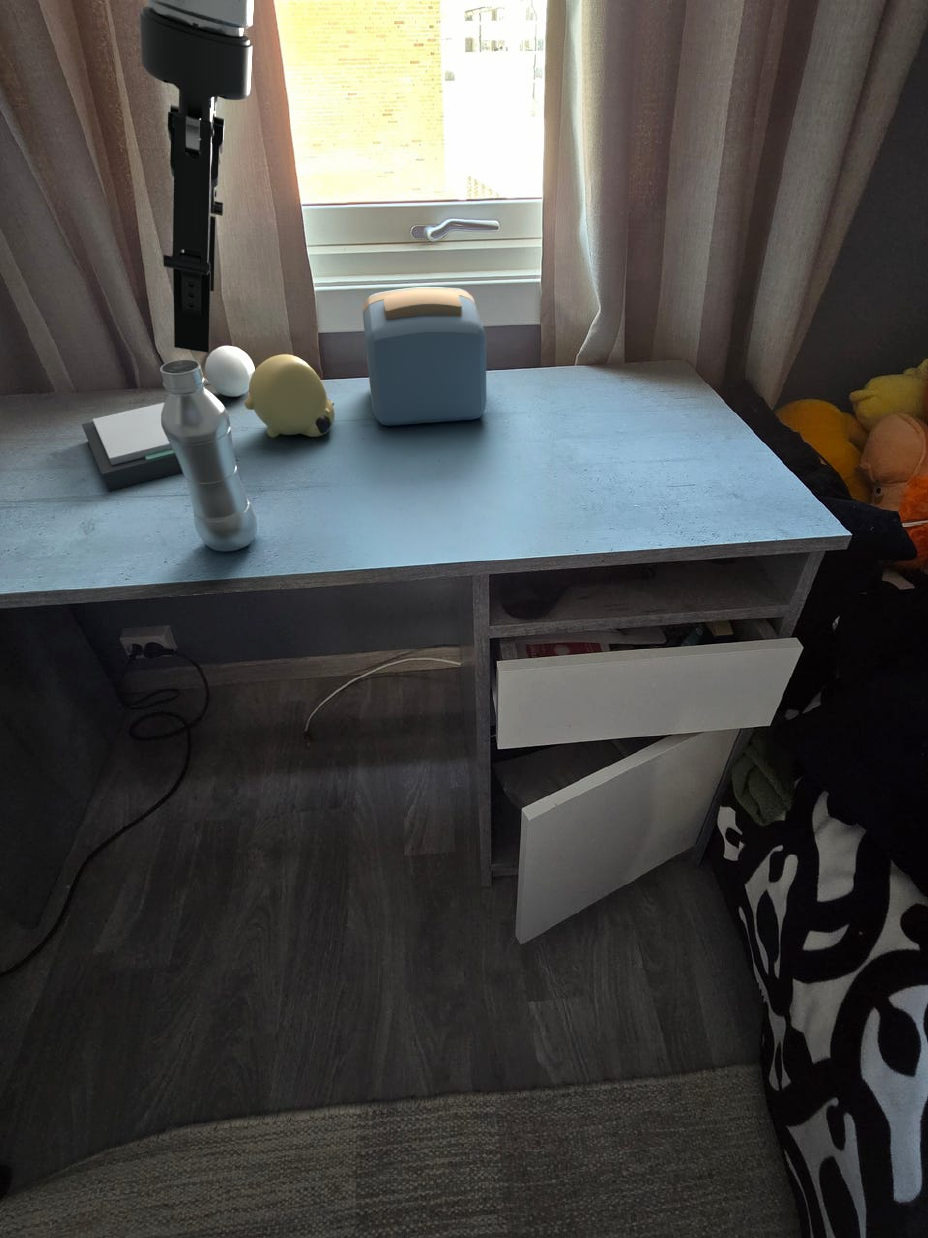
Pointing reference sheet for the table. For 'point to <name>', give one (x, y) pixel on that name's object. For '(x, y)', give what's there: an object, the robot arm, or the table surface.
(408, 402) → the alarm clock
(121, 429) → the scale
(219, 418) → the plastic bottle
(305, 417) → the yellow round figure
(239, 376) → the white egg
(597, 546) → the table surface
